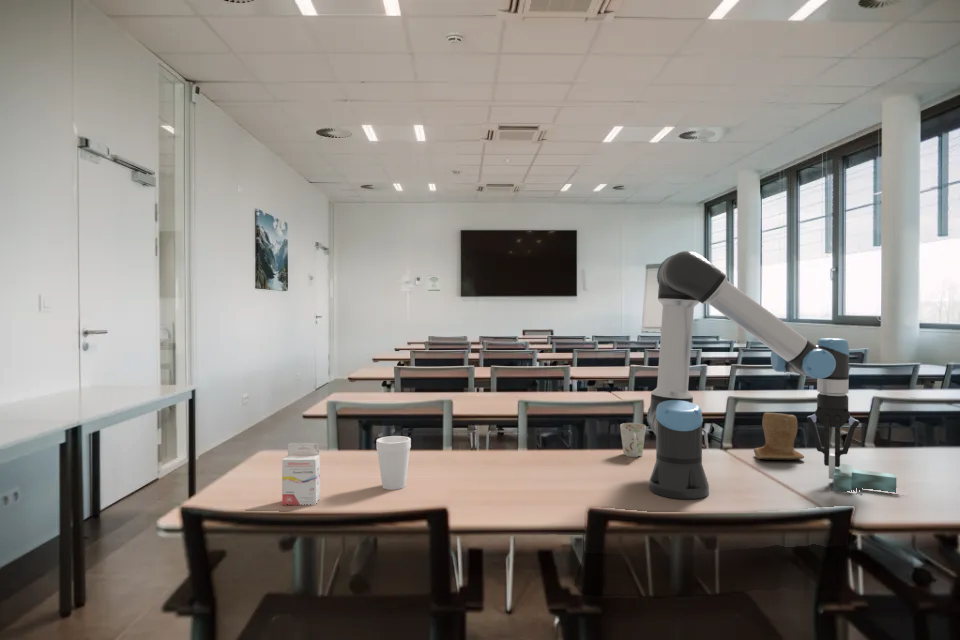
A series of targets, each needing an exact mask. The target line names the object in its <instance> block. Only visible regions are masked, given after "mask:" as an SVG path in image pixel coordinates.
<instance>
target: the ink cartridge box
mask: <svg viewBox="0 0 960 640" xmlns="http://www.w3.org/2000/svg"><path fill="white" fill-rule="evenodd" d="M303 447H304V448H306V449H301V448H303ZM281 462H282V465H281V466H282V468H281V471H282V472H281V475H282V478H281V480H282V481H281V483H282V484H281V485H282V486H281V487H282V489H281V492H282V493H281V496H282V497H281V499H282V500H281V502H282V503H281V504H283V505H282V506H314V505H313V504H316V503H319V501H320V498H321V472H320V471H321V455H320V444H319V443H318V442H317V443H315V442H314V443H312V442H311V443H309V442H308V443H304V442H303V443H301V442H300V443H299V442H298V443H297V442H295V443H288V444H287V455H286V456H285V457H284V458H282V461H281ZM318 500H319V501H318ZM287 504H288V505H287ZM290 504H292V505H290ZM293 504H294V505H293ZM301 504H302V505H301ZM304 504H305V505H304ZM306 504H308V505H306ZM310 504H311V505H310ZM316 505H317V504H316Z"/></svg>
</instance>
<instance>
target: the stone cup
mask: <svg viewBox="0 0 960 640" xmlns="http://www.w3.org/2000/svg"><path fill="white" fill-rule="evenodd" d="M761 422H762V423H761V426H762V429H763V434H764V440H765V444H764V445H763V446H761V447H755V448H754V449H753V453H754V456H755V457H756V459H758V460H769V461H770V460H772V461H774V460H775V461H778V460H779V461H780V460H781V461H782V460H783V461H784V460H785V461H786V460H801V459H805V455H803V454H802V453H800V452H798V451H797V450H796V449H795V447H794V446H795V445H794V444H795V439H796V437H797V433H798V418H797V416H796V415H794V414H787V413H776V412H764V413H763V415H762V420H761Z"/></svg>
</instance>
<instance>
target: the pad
mask: <svg viewBox="0 0 960 640" xmlns="http://www.w3.org/2000/svg"><path fill="white" fill-rule="evenodd" d="M853 490H854V491H855V492H856V488H855V487H852V492H853ZM859 490H860V492H859ZM830 491H831V492H836V493H837V492H838V493H843V492H847V491H842V490H835V489H834V479H832V482H831V488H830ZM861 492H862V493H861ZM857 494H860V495H859V496H863V490H862V488H857V493H856V494H855V495H857Z"/></svg>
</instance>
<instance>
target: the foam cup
mask: <svg viewBox="0 0 960 640" xmlns="http://www.w3.org/2000/svg"><path fill="white" fill-rule="evenodd" d="M375 443H376V444H375V445H376V451H377V456H378V457H377V458H378V464H379V471H380V478H381V486H382V488H383V489H384V490H392V491H393V490H401V489H404V488H405V487H406V484H407V476H408V469H409V468H408V467H409V461H410V460H409V459H410V452H411V451H410V450H411V447H412V444H411V443H412V439H411V437H409V436H403V435H402V436H401V435H391V436H383V437H379V438H377V439H376V442H375Z"/></svg>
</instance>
